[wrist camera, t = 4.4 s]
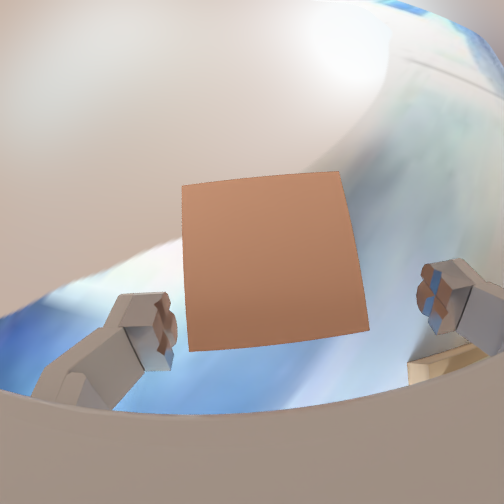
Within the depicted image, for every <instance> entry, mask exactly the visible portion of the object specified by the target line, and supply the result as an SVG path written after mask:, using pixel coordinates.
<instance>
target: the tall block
mask: <svg viewBox="0 0 504 504" xmlns="http://www.w3.org/2000/svg"><path fill="white" fill-rule="evenodd" d="M182 240H183V268H184V288H185V305H186V320H187V333H188V345H189V352H195V351H211V350H225V349H238V348H249V347H259V346H268V345H277V344H285V343H293V342H301V341H308V340H315V339H322V338H328V337H335V336H341V335H347V334H353V333H358V332H364V331H369V330H370V329H369V321H368V314H367V307H366V300H365V294H364V288H363V282H362V276H361V270H360V265H359V259H358V254H357V249H356V244H355V239H354V234H353V229H352V225H351V220H350V216H349V211H348V207H347V203H346V198H345V194H344V190H343V186H342V182H341V178H340V174H339V171H334V172H315V173H300V174H286V175H275V176H263V177H252V178H242V179H233V180H224V181H216V182H207V183H199V184H192V185H184V186H182Z"/></svg>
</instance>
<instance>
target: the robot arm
mask: <svg viewBox="0 0 504 504" xmlns="http://www.w3.org/2000/svg"><path fill="white" fill-rule="evenodd" d="M421 277H422V279H423V281H422V282H421V283H420V285H419V286H418V289H417V294H416V298H417V305H418V308H419V310H420V311H421V313H422V314H424V315H426V316H428V317H429V318H428V323H429V325H430V326H431V328H432V329H433V331H434V332H435V334H436V335H440V334H444V333H448V332H452V331H456V332H457V333H458V334H460V335H461V336H463V337H464V338H465V339H467V340H468V341H470V342H471V343H473V344H474V345H475V346H477V347H478V348H479V349H481V350H482V351H484V352H485V353H486V354H488V355H489V356H491V357H489V358H487V359H484V360H482V361H479V362H477V363H474V364H472V365H469V366H466V367H464V368H461V369H458V370H456V371H453V372H450V373H447V374H444V375H441V376H438V377H435V378H432V379H429V380H425V381H422V382H419V383H415V384H412V385H408V386H405V387H401V388H397V389H393V390H389V391H385V392H381V393H377V394H373V395H368V396H364V397H359V398H354V399H349V400H344V401H339V402H333V403H327V404H321V405H315V406H308V407H300V408H293V409H284V410H275V411H264V412H252V413H236V414H208V415H178V414H150V413H135V412H123V411H113V410H112V409H113V408H114V407H115V406H116V405H117V404H118V403H119V401H120V400H121V399H122V398H123V397H124V396H125V395H126V393H127V392H128V391H129V390H130V389H131V388H132V387H133V385H134V384H135V383H136V382H137V381H138V380H139V379H140V378H141V376H142V375H143V374H144V373H145V372H144V371H171V366H172V361H173V357H174V353H173V350H172V347H173V346H174V345H175V344H176V342H177V323H176V319H175V315H174V314H173V313H172V312H171V311H170V310H169V308H170V304H171V302H170V299H169V296H168V294H167V293H166V292H151V293H130V294H121V295H119V296H118V298H117V300H116V302H115V304H114V306H113V308H112V310H111V312H110V314H109V316H108V318H107V320H106V322H105V324H104V326H103V328H97V329H96V330H95V331H93V332H92V333H91V334H89V335H88V336H86V337H85V338H84V339H82V340H81V341H80V342H78V343H77V344H76V345H74V346H73V347H72V348H70V349H69V350H68V351H66V352H65V353H64V354H62V355H61V356H60V357H58V358H57V359H56V360H54V361H53V362H52V363H50V364H49V365H48V366H46V367H45V368H44V370H43V372H42V374H41V376H40V378H39V380H38V382H37V384H36V386H35V388H34V390H33V392H32V395H31V397H29V396H24V395H20V394H16V393H13V392H9V391H5V390H2V389H0V504H504V288H502V287H500V286H497V285H495V284H493V283H491V282H487V283H486V282H485V281H484V280H483V279H482V278H481V276H480V275H479V274H478V273H477V272H475V271H474V270H473V269H472V268H471V267H470V266H469V265H468V264H467V263H466V262H465V261H464V260H463V259H460V258H456V259H451V260H448V261H442V262H436V263H430V264H425V265H424V267H423V268H422V272H421Z"/></svg>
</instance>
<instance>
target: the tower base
mask: <svg viewBox="0 0 504 504" xmlns="http://www.w3.org/2000/svg"><path fill="white" fill-rule="evenodd" d="M487 356H489V355H488V354H486V353H485V352H484V351H482V350H481V349H479V348H478V347H477V346H475V345H474V344H473V343H468V344H465V345H462V346H460V347H457V348H454V349H451V350H448V351H445V352H441V353H438V354H435V355H432V356H429V357H425V358H422V359H418V360H415V361H411V362H408V363H407V368H408V381H409V385H412V384H415V383H419V382H422V381H425V380H429V379H432V378H435V377H438V376H441V375H444V374H447V373H450V372H453V371H456V370H458V369H461V368H463V367H466V366H468V365H470V364H472V363H474V362H476V361H478V360H481V359H483V358H485V357H487Z"/></svg>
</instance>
